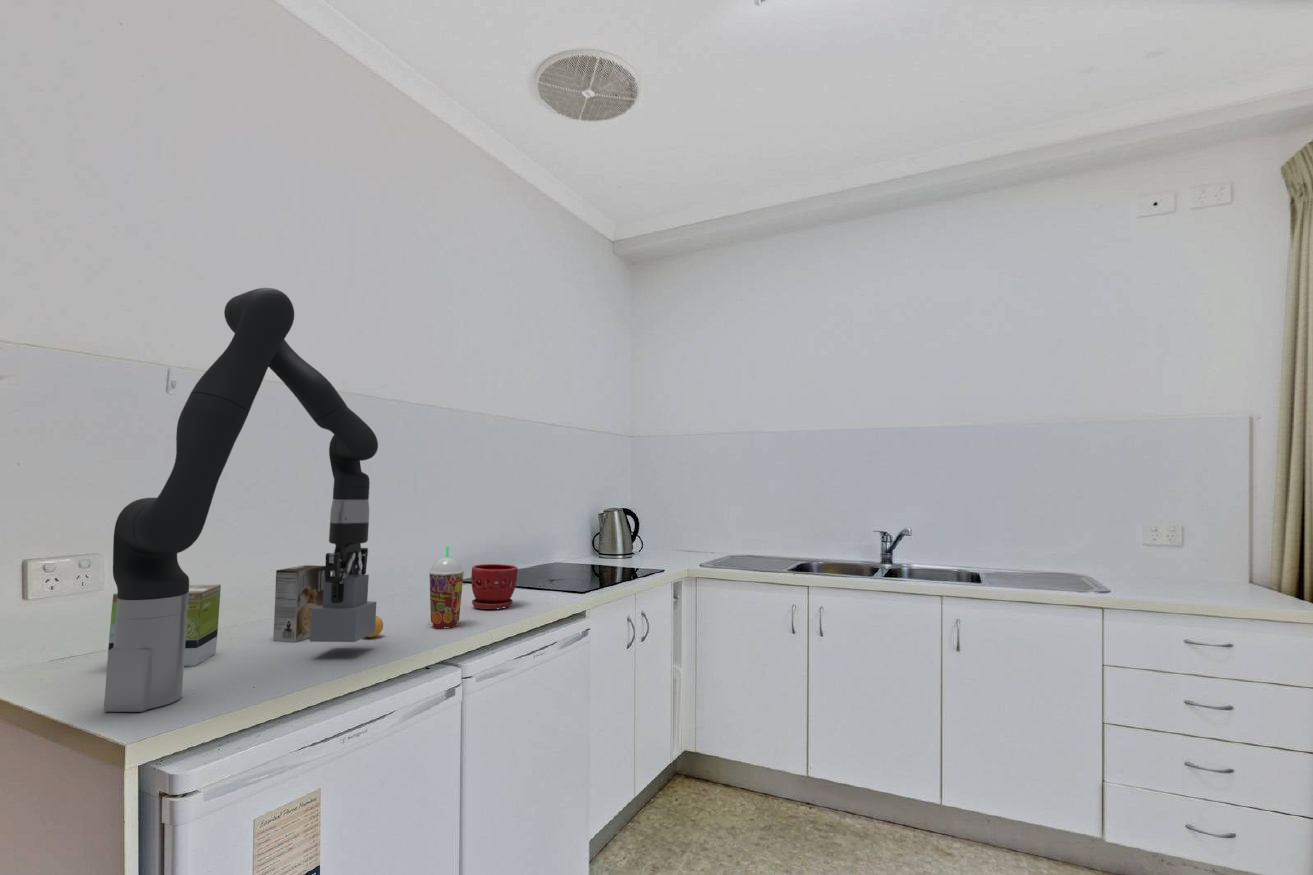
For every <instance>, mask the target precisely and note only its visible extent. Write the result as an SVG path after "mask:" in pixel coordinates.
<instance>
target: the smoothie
mask: <svg viewBox="0 0 1313 875" xmlns="http://www.w3.org/2000/svg"><path fill="white" fill-rule="evenodd" d="M449 550H450V547H449V546H448V545H447V546H445V556H444V557H441V558H440V559H438V560H437V561H435V562H434V564H433V565H432V567H431V568H430V571H428V572H429V604H430V606H429V608H430V609H429V610H430V622H431V623H432V627H433V628H434V627H436V628H435V629H439V628H444V627H452V628H454V627H453V626H455V625H456V624H457V625H458V622H459V621H460V617H461V616H460V615H461V614H460V612H461V604H462V593H463V584H464V583H463V581H464V572H465V571H464V569H463V567H462V565H461V564H460V562H459V561H458V560H457V559H456V558H453V557H449V553H450V552H449ZM457 625H456V626H457ZM456 626H455V627H456Z"/></svg>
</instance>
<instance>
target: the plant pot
mask: <svg viewBox="0 0 1313 875" xmlns="http://www.w3.org/2000/svg"><path fill="white" fill-rule="evenodd" d="M470 579H471V590H472V593H473V596H474V599H472V600H471V604H472V606H473V607H474V608H476V609H477V608H478V609H479V608H480V609H479V610H484V609H497V608H503V607H507V606H509V605H510V606H511V605H512V604H513V599H511V598H512V597H513V594H514V592H515V590H516V586H517V581H518V567H517V566H515V565H511V564H502V563H501V564H499V563H488V564H487V563H485V564H476V565H473V566H472V568H471V578H470ZM496 582H498V583H496ZM510 606H509V607H510ZM507 608H508V607H507ZM497 610H498V609H497Z"/></svg>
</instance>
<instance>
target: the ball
mask: <svg viewBox="0 0 1313 875" xmlns="http://www.w3.org/2000/svg"><path fill="white" fill-rule="evenodd" d="M383 629H384V622H383V619H382V618H381V617H379V616H378V615H376V621H375V632H374V633H372V634H370V635H368V636H366V637H365V638H375V637H377V636H379V635H380V634H381V632H382V631H383Z"/></svg>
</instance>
